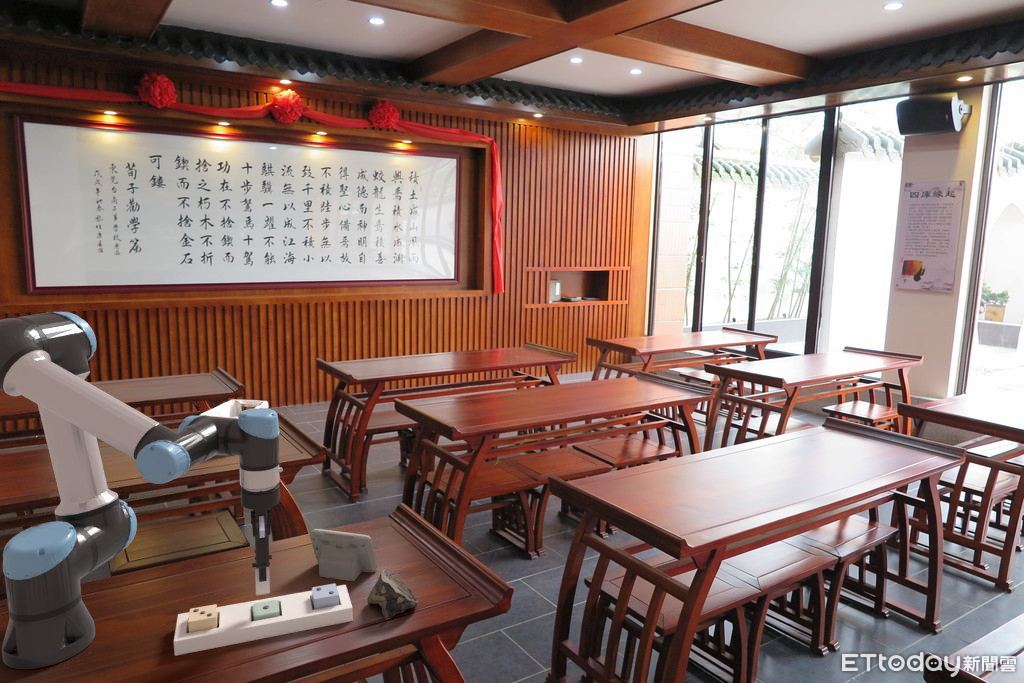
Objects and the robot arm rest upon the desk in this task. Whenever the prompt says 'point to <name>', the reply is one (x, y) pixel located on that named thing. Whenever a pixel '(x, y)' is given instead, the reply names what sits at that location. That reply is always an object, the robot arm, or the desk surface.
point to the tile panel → (261, 621)
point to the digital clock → (343, 554)
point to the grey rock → (391, 595)
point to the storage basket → (234, 408)
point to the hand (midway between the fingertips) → (262, 592)
